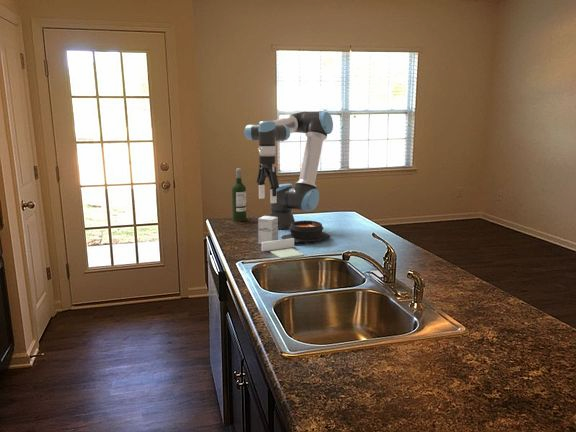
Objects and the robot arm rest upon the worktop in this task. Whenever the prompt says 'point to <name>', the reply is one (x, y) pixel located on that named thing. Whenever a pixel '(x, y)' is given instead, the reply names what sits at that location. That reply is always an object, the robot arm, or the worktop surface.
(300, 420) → the worktop surface
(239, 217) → the wine bottle
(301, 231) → the casserole
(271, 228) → the supplement box
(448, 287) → the worktop surface
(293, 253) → the sage mat
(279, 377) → the worktop surface
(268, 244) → the acrylic wall
